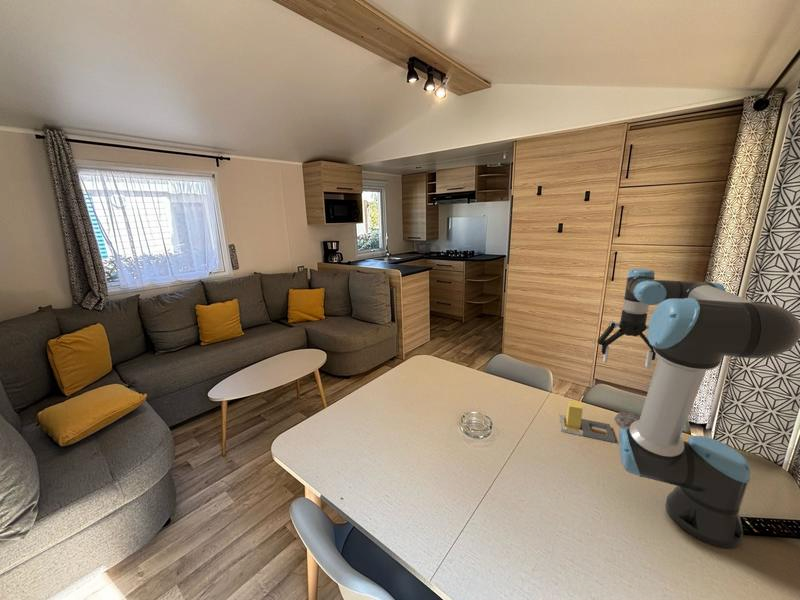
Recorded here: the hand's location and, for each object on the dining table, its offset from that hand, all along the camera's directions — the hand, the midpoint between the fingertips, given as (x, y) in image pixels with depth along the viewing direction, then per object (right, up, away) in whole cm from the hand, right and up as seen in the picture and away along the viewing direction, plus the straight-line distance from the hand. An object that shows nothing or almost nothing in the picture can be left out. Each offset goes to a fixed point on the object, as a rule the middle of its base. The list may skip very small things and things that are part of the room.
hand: (625, 364), depth 119 cm
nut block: (-17, -26, +6) cm, 32 cm away
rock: (+7, -26, +7) cm, 28 cm away
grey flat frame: (-13, -27, +5) cm, 30 cm away
